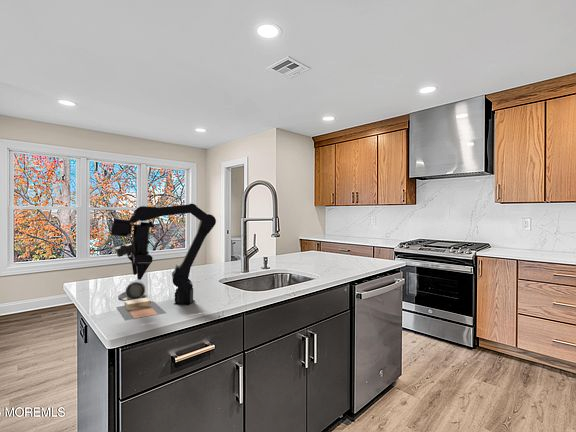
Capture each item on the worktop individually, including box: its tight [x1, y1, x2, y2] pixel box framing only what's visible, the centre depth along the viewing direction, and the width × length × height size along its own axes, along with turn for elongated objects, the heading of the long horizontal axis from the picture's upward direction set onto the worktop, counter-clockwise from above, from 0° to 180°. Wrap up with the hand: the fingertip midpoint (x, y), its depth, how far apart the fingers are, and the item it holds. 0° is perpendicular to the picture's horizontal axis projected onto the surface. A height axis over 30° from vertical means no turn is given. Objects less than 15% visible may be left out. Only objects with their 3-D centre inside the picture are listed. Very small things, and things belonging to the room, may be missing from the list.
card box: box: [124, 297, 152, 311], centre depth 124 cm, size 8×6×2 cm, turn 128°
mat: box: [115, 300, 167, 322], centre depth 120 cm, size 14×18×1 cm
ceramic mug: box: [117, 279, 146, 300], centre depth 137 cm, size 11×8×8 cm
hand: (136, 277), depth 124 cm, fingers open, 9 cm apart
